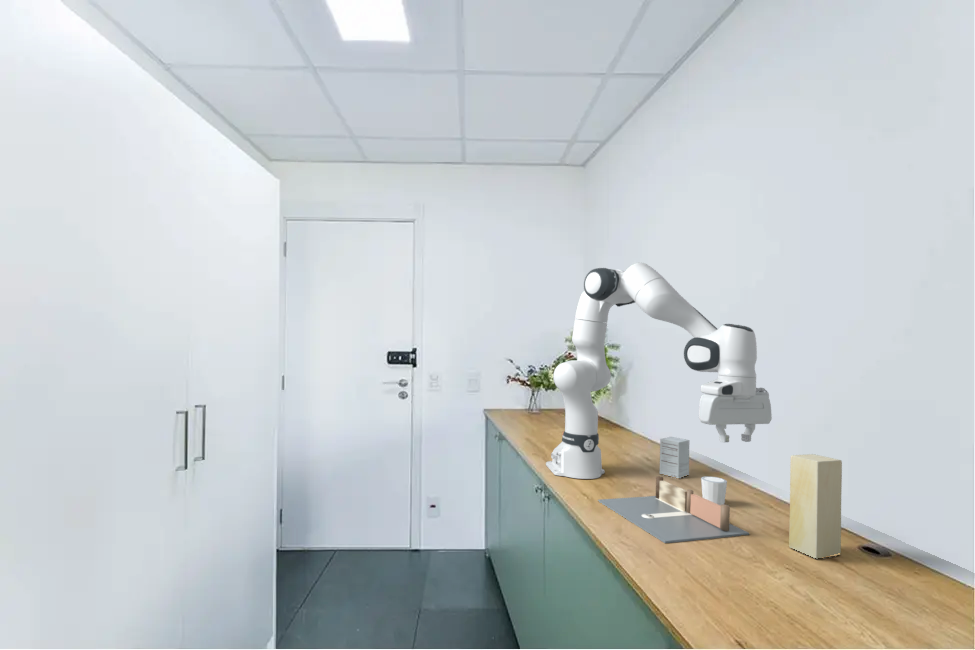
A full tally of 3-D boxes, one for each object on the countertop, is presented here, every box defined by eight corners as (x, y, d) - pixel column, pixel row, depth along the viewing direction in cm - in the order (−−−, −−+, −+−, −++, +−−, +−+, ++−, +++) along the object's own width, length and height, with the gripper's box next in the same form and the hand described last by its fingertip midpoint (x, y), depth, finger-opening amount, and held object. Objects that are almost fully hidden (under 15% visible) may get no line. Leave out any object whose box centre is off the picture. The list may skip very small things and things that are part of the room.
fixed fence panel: (654, 497, 147) (654, 476, 147) (659, 496, 148) (660, 476, 148) (683, 511, 135) (684, 489, 135) (689, 511, 135) (690, 489, 136)
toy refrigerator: (809, 542, 118) (811, 452, 118) (841, 555, 111) (843, 460, 111) (785, 546, 115) (787, 454, 115) (816, 560, 108) (818, 462, 108)
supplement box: (670, 471, 180) (670, 436, 181) (689, 476, 175) (690, 439, 175) (658, 474, 176) (659, 438, 176) (678, 479, 170) (679, 441, 170)
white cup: (699, 504, 143) (700, 479, 144) (701, 498, 149) (702, 474, 150) (726, 509, 140) (726, 483, 140) (727, 502, 146) (727, 478, 146)
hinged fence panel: (684, 511, 134) (685, 489, 135) (690, 510, 135) (691, 489, 135) (724, 531, 121) (724, 507, 121) (731, 530, 121) (731, 506, 122)
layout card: (597, 501, 143) (598, 499, 143) (669, 496, 150) (669, 494, 150) (664, 543, 114) (665, 540, 114) (749, 534, 121) (749, 532, 121)
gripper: (758, 386, 134) (757, 438, 134) (695, 385, 128) (694, 440, 128) (778, 388, 128) (777, 443, 128) (713, 388, 122) (712, 445, 122)
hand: (735, 441), depth 128 cm, fingers open, 5 cm apart
